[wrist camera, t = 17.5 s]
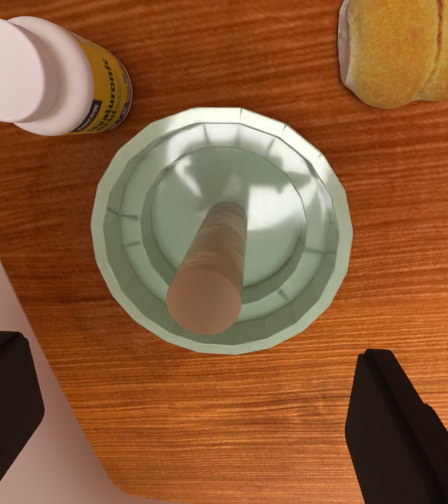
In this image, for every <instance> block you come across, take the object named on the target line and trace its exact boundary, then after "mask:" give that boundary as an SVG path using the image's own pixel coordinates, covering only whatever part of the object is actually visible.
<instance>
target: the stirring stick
mask: <svg viewBox="0 0 448 504" xmlns="http://www.w3.org/2000/svg"><path fill="white" fill-rule="evenodd" d="M247 227H248V219H247V216H246V213H245V212H244V210H243V209H242V208H241V207H240V206H239V205H237V204H235V203H232V202H220V203H217V204H215V205H214V206H212V207H211V208H210V209H209V211H208V212H207V214H206V216H205V218H204V220H203V222H202V224H201V226H200V228H199V230H198V232H197V234H196V236H195V238H194V239H193V241H192V243H191V245H190V247H189V249H188V251H187V253H186V255H185V257H184V259H183V261H182V263H181V264H180V266H179V268H178V270H177V272H176V274H175V276H174V278H173V280H172V282H171V284H170V286H169V288H168V291H167V296H166V301H167V307H168V310H169V312H170V314H171V316H172V318H173V319H174V320H175V321H176V322H177V323H178V324H179V325H180V326H181V327H183V328H184V329H186V330H188V331H190V332H193V333H197V334H203V335H210V334H216V333H219V332H222V331H224V330H226V329H228V328H229V327H230V326H231V325H232V324H234V322H235V321H236V320H237V318H238V316H239V314H240V311H241V305H242V292H243V279H244V266H245V253H246V240H247Z"/></svg>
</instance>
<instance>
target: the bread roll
mask: <svg viewBox="0 0 448 504" xmlns="http://www.w3.org/2000/svg"><path fill="white" fill-rule="evenodd" d="M338 52H339V64H340V76H341V80H342V82H343V84H344V85H345V86H346V87H347V88H349V89H350V90H351V91H352V92H353V93H354V94H355V95H356V96H357V97H358V98H359V99H360V100H361V101H363V102H364V103H366V104H367V105H370V106H374V107H379V108H385V109H391V108H397V107H401V106H403V105H406V104H407V103H409V102H411V101H414V100H425V101H443V100H446V99H448V0H344V2H343V4H342V6H341V8H340V12H339V25H338Z"/></svg>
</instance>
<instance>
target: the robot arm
mask: <svg viewBox="0 0 448 504" xmlns="http://www.w3.org/2000/svg"><path fill="white" fill-rule="evenodd" d="M44 411H45V408H44V404H43V399H42V395H41V391H40V387H39V384H38V379H37V375H36V371H35V367H34V362H33V358H32V354H31V350H30V346H29V342H28V339H26V338H25V337H24V336H23V334H22V333H20V332H12V331H0V481H1V479H2V478H3V476H4V475H5V473H6V472H7V470H8V469H9V468H10V466H11V465H12V463H13V462H14V461H15V459H16V458H17V456H18V455H19V453H20V452H21V450H22V449H23V447H24V446H25V445H26V443H27V441H28V440H29V439H30V437H31V436H32V434H33V433H34V432H35V430H36V429H37V427H38V426H39V424H40V423H41V421H42V419H43V417H44ZM345 438H346V443H347V446H348V449H349V452H350V456H351V459H352V462H353V466H354V469H355V472H356V476H357V479H358V482H359V485H360V489H361V492H362V495H363V499H364V502H365V504H448V431H447V430H446V428H445V426H444V425H443V423H442V422H441V420H440V419H439V417H438V416H437V414H436V412H435V411H434V410H433V409H432V407H431V406H429V405H428V404H424V403H423V401H422V400H421V398H420V397H419V395H418V393H417V392H416V390H415V388H414V387H413V385H412V384H411V382H410V380H409V379H408V377H407V376H406V374H405V372H404V371H403V369H402V367H401V366H400V364H399V363H398V361H397V359H396V358H395V356H394V355H393V353H392V352H391V351H390V350H386V349H366V351H365V354H359V356H358V359H357V364H356V370H355V375H354V381H353V386H352V392H351V397H350V402H349V408H348V413H347V419H346V424H345Z"/></svg>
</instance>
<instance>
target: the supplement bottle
mask: <svg viewBox="0 0 448 504" xmlns="http://www.w3.org/2000/svg"><path fill="white" fill-rule="evenodd" d="M132 95H133V92H132V85H131V80H130V77H129V75H128V72H127V71H126V69H125V67H124V65H123V64H122V63H121V62H120V60H119V59H118V58H117V57H116V56H115V55H113V54H112V53H111V52H109V51H108V50H107V49H105V48H103V47H101V46H99V45H97V44H95V43H93V42H91V41H89V40H87V39H85V38H83V37H81V36H79V35H77V34H75V33H73V32H71V31H69V30H67V29H65V28H63V27H61V26H59V25H56V24H54V23H52V22H49V21H47V20H44V19H40V18H36V17H29V16H23V17H16V18H12V19H9V20H7V21H5V20H2V19H0V121H3V122H13V123H14V124H15V125H17V126H18V127H20V128H22V129H24V130H26V131H29V132H32V133H35V134H39V135H46V136H59V135H73V134H85V133H100V132H105V131H109V130H111V129H114V128H115V127H117V126H118V125H120V124H121V123H122V122H123V121H124V119H125V118H126V116H127V115H128V113H129V110H130V108H131V104H132Z"/></svg>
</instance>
